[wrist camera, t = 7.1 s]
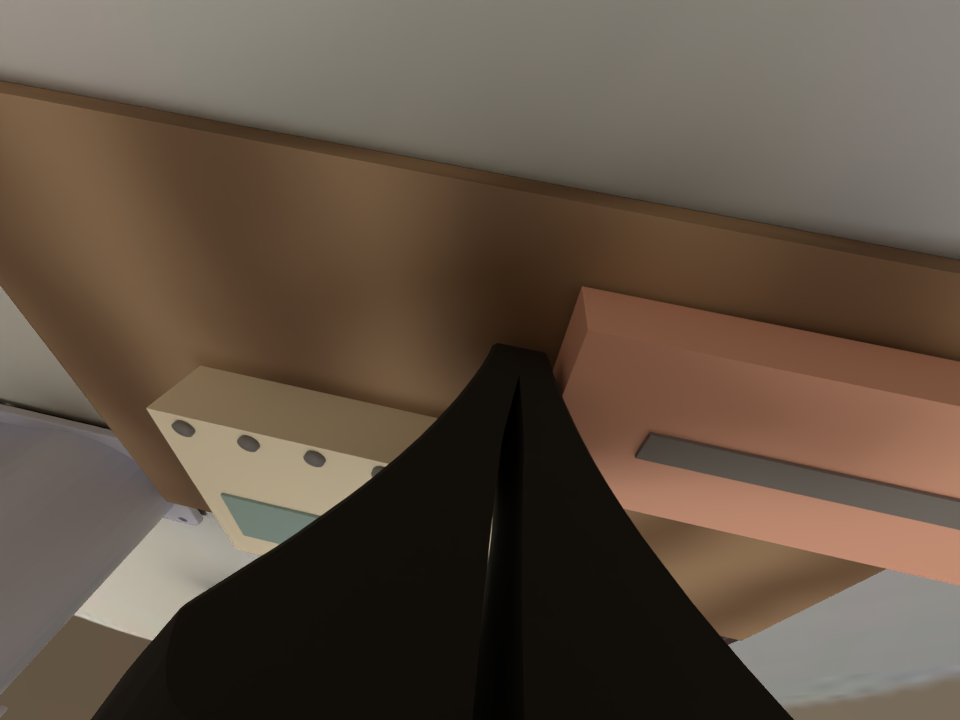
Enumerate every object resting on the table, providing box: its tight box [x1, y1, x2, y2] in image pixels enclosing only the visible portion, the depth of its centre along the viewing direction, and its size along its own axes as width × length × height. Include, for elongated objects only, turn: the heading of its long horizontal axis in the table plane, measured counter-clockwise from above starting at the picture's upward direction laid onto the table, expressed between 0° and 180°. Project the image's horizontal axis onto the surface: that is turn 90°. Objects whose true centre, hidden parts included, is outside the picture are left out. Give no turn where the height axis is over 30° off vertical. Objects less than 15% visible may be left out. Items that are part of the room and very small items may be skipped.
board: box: [0, 81, 960, 641], centre depth 13 cm, size 30×18×1 cm, turn 82°
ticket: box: [146, 365, 493, 564], centre depth 13 cm, size 12×9×2 cm
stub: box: [553, 286, 960, 585], centre depth 8 cm, size 12×5×2 cm, turn 82°
